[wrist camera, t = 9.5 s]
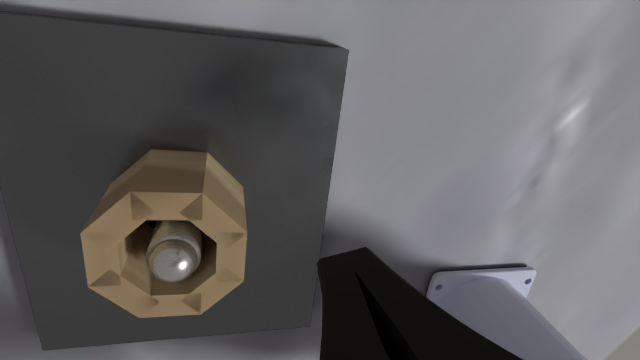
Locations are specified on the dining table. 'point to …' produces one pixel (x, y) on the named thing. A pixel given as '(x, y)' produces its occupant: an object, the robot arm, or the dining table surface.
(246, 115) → the hub
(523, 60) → the dining table surface
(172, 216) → the ring
